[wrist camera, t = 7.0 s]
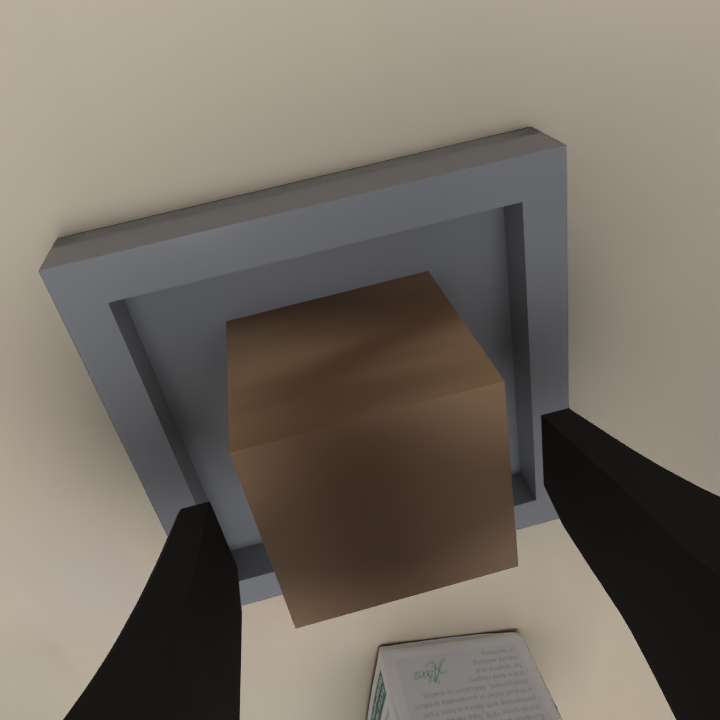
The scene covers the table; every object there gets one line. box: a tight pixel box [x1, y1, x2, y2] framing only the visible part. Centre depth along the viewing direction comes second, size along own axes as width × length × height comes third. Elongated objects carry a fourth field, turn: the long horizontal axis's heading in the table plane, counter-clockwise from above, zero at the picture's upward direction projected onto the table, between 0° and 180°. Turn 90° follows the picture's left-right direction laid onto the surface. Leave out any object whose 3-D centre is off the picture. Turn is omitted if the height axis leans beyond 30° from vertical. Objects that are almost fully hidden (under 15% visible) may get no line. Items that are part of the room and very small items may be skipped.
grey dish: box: [39, 127, 569, 606], centre depth 17 cm, size 11×11×2 cm
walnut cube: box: [226, 271, 518, 628], centre depth 15 cm, size 5×5×5 cm
